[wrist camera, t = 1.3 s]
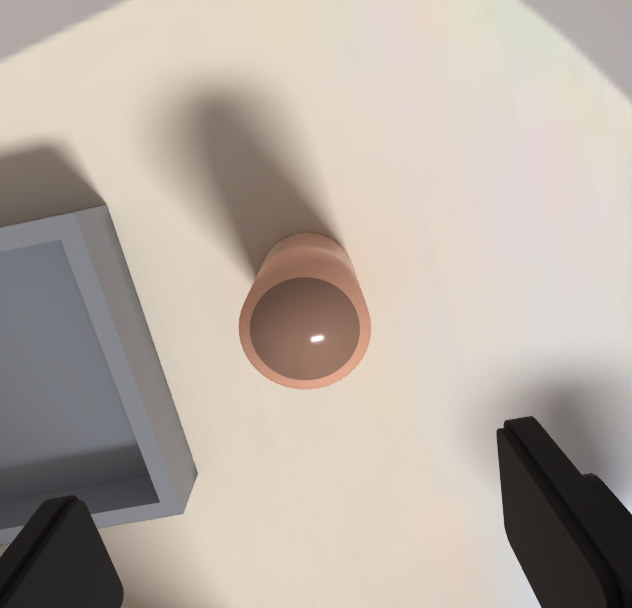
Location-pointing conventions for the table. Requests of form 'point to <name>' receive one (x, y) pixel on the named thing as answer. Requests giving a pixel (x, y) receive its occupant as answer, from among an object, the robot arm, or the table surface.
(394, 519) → the table surface
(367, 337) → the cup
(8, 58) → the table surface
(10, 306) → the tray
